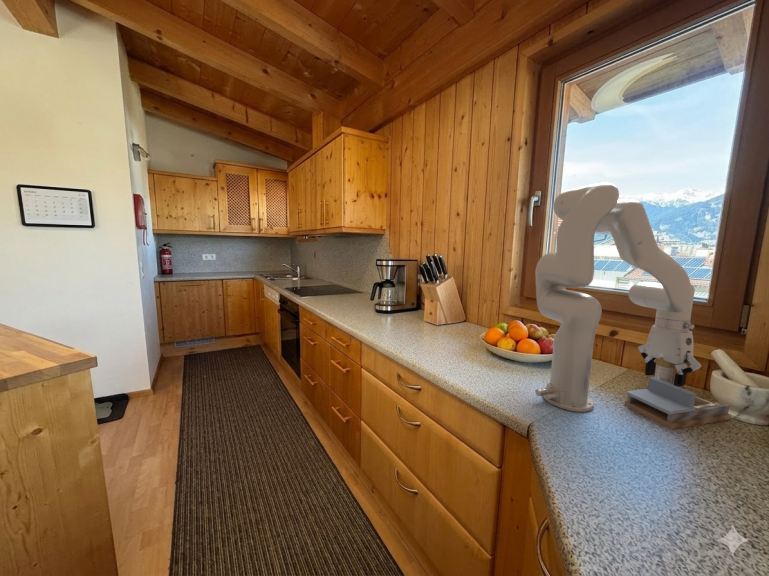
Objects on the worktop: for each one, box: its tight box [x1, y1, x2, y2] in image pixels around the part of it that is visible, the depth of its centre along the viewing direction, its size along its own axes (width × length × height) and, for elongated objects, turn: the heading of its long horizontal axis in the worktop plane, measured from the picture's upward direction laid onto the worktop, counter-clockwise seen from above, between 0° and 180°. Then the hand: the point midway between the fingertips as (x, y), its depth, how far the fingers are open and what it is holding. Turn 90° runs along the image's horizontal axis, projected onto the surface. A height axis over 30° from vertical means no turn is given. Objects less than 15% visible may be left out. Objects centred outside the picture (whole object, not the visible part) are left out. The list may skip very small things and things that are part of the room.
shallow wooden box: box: [624, 386, 732, 430], centre depth 84 cm, size 20×12×3 cm, turn 104°
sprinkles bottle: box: [654, 354, 676, 385], centre depth 94 cm, size 5×5×13 cm
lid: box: [625, 376, 697, 415], centre depth 82 cm, size 8×11×4 cm
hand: (663, 380), depth 95 cm, fingers open, 7 cm apart
